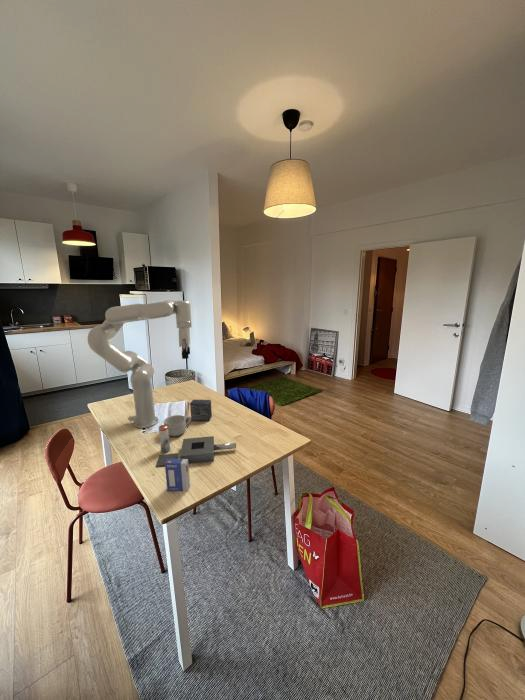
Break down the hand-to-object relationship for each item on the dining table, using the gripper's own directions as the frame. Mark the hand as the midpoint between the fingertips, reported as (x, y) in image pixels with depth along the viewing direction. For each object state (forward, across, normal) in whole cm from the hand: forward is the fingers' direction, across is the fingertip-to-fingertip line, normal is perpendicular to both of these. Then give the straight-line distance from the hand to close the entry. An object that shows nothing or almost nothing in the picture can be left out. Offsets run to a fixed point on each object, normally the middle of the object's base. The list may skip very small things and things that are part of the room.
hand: (186, 356), depth 154 cm
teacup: (+37, +14, -5) cm, 40 cm away
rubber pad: (+37, +38, -7) cm, 53 cm away
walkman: (+37, +57, 0) cm, 68 cm away
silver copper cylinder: (+37, +30, -9) cm, 48 cm away
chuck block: (+37, +35, +11) cm, 52 cm away
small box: (+37, 0, +6) cm, 37 cm away
